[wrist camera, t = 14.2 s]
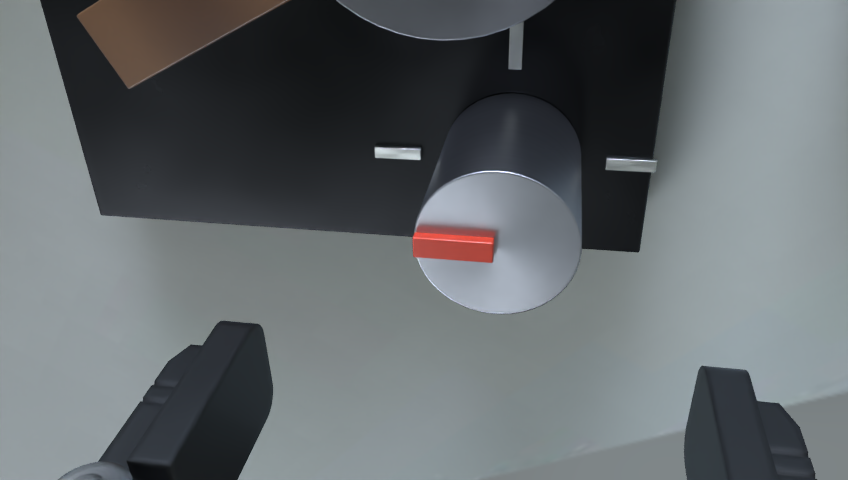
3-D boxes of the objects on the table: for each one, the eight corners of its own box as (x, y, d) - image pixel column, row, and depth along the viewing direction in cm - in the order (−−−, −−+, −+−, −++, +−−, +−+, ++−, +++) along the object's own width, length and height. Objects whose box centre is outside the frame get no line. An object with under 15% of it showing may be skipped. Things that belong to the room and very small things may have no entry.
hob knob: (587, 95, 21) (589, 182, 16) (575, 221, 23) (574, 329, 18) (443, 90, 21) (407, 171, 17) (444, 213, 23) (413, 314, 19)
